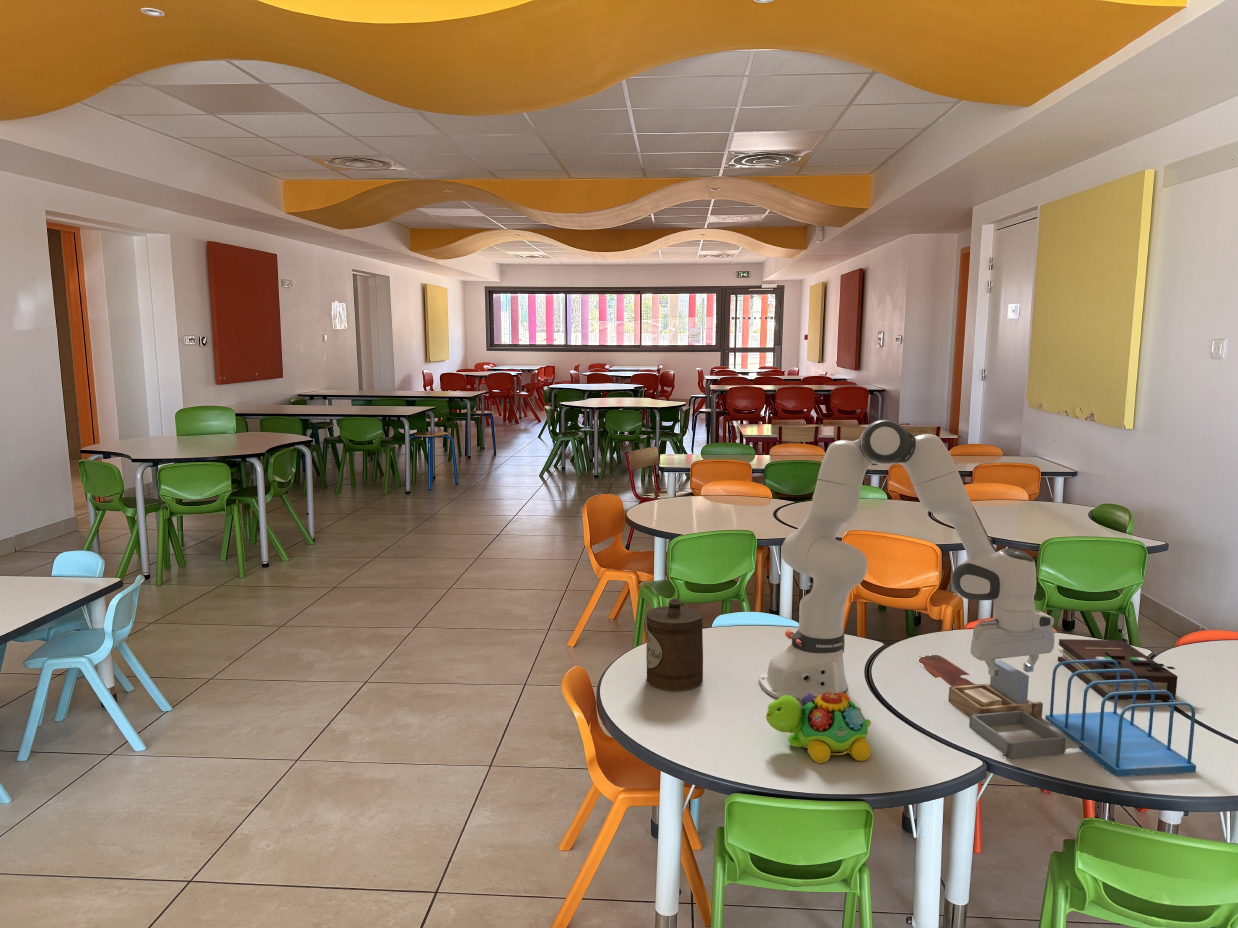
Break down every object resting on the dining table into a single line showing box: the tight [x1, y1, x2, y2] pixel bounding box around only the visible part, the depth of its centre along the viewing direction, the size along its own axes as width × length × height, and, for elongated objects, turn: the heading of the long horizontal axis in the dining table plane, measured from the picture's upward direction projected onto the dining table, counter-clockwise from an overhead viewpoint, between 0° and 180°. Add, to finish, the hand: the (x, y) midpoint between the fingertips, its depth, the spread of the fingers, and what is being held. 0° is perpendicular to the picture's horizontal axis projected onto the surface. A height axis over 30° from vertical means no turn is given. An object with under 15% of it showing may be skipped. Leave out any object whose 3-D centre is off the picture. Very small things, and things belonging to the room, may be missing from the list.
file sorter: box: [1044, 659, 1197, 777], centre depth 180 cm, size 25×17×15 cm
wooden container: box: [646, 597, 704, 692], centre depth 216 cm, size 15×15×22 cm
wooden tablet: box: [919, 654, 979, 687], centre depth 221 cm, size 27×10×2 cm, turn 6°
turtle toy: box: [765, 692, 872, 764], centre depth 181 cm, size 17×23×12 cm
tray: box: [968, 710, 1067, 760], centre depth 183 cm, size 13×14×4 cm
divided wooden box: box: [948, 682, 1044, 720], centre depth 197 cm, size 16×13×4 cm
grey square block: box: [989, 659, 1030, 704], centre depth 197 cm, size 3×10×10 cm, turn 11°
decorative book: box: [1057, 638, 1178, 702], centre depth 216 cm, size 19×8×30 cm
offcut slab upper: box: [963, 688, 1002, 707], centre depth 196 cm, size 5×7×2 cm
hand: (1010, 673), depth 197 cm, fingers open, 8 cm apart
